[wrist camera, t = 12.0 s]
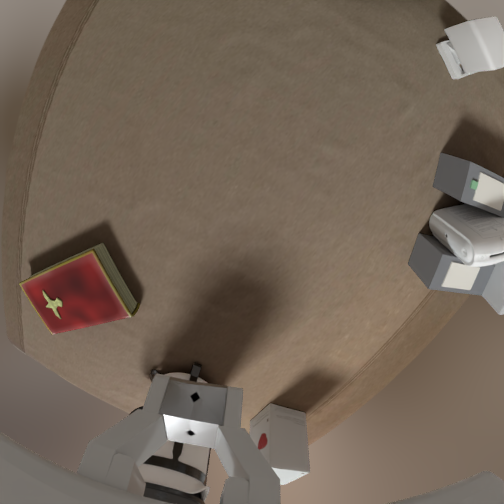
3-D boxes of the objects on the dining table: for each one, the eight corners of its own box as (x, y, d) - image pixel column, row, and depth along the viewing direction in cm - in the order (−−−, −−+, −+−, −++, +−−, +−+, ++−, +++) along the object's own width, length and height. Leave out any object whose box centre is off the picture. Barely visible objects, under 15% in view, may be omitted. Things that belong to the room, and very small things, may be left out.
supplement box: (269, 401, 53) (269, 466, 40) (306, 411, 55) (312, 472, 41) (248, 421, 57) (245, 479, 43) (283, 430, 58) (284, 485, 45)
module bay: (440, 152, 32) (497, 170, 21) (496, 177, 32) (548, 201, 21) (407, 263, 39) (445, 311, 28) (464, 273, 39) (503, 314, 29)
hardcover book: (141, 303, 44) (132, 319, 40) (62, 324, 48) (52, 337, 44) (105, 238, 40) (91, 250, 36) (30, 273, 43) (18, 284, 39)
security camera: (456, 27, 23) (498, 15, 14) (476, 70, 26) (521, 68, 17) (427, 34, 25) (469, 19, 16) (450, 80, 27) (496, 77, 18)
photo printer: (427, 237, 37) (473, 279, 26) (427, 209, 35) (478, 245, 24) (477, 225, 36) (525, 260, 25) (478, 199, 34) (530, 229, 23)
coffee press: (156, 343, 47) (99, 501, 20) (239, 377, 50) (225, 535, 23) (136, 390, 54) (94, 511, 27) (204, 417, 57) (184, 539, 30)
